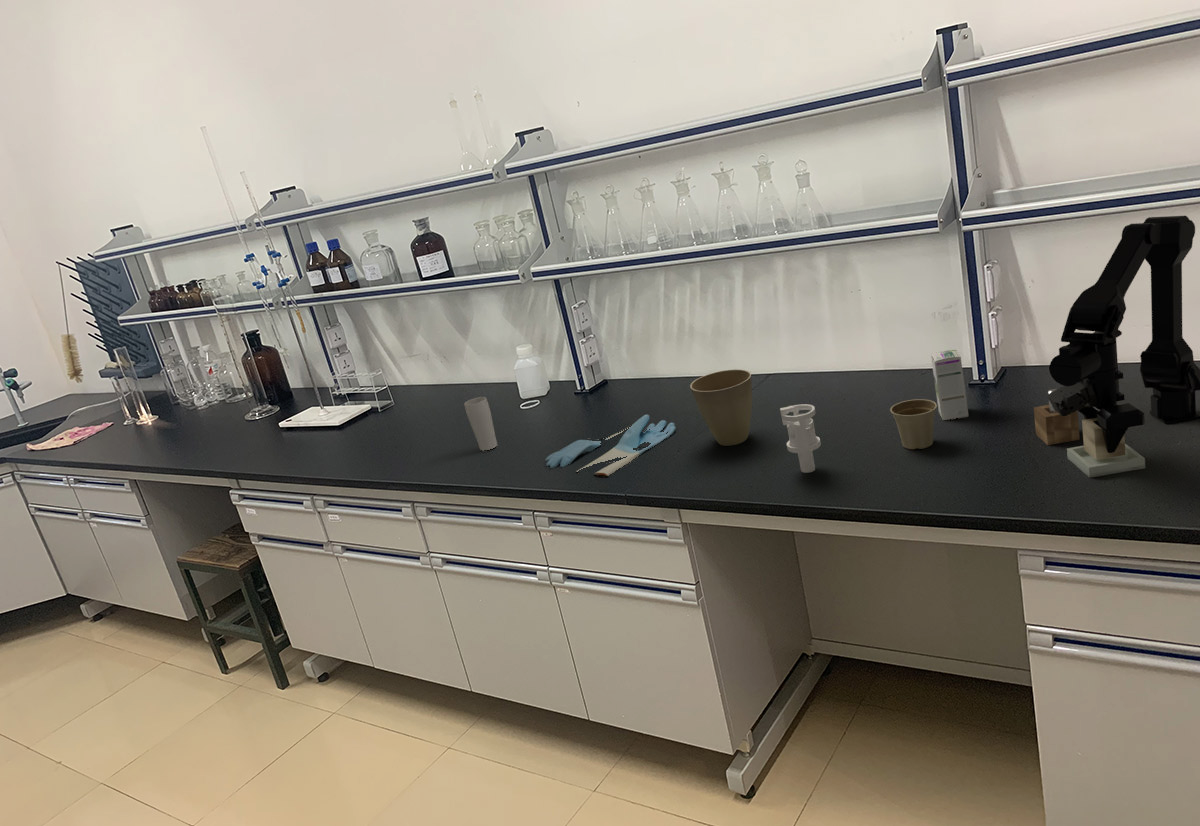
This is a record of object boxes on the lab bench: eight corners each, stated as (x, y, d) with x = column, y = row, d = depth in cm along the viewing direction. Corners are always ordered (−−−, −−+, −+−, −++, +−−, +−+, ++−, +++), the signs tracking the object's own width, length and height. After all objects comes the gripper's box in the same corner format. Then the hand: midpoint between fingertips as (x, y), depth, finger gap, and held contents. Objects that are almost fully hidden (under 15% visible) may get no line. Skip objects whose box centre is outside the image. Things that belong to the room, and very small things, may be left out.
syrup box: (969, 417, 194) (962, 355, 189) (941, 421, 195) (934, 360, 191) (964, 408, 199) (957, 348, 194) (937, 412, 200) (929, 353, 196)
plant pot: (705, 433, 223) (693, 375, 218) (763, 424, 219) (752, 365, 214) (700, 456, 209) (687, 394, 204) (761, 447, 205) (749, 384, 201)
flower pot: (948, 437, 186) (944, 399, 184) (930, 454, 180) (925, 416, 177) (906, 434, 193) (901, 398, 190) (887, 451, 187) (882, 414, 184)
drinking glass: (504, 443, 255) (491, 395, 250) (492, 452, 249) (478, 404, 244) (485, 444, 258) (471, 397, 253) (473, 453, 252) (459, 406, 248)
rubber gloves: (533, 469, 229) (527, 447, 228) (613, 422, 251) (608, 402, 249) (608, 480, 210) (602, 455, 208) (687, 428, 232) (682, 406, 230)
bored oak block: (1066, 429, 176) (1064, 401, 175) (1079, 439, 171) (1077, 411, 169) (1036, 434, 177) (1033, 407, 176) (1047, 445, 172) (1045, 417, 170)
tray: (1120, 449, 163) (1119, 439, 163) (1145, 468, 154) (1144, 458, 154) (1067, 458, 165) (1066, 448, 164) (1089, 477, 156) (1088, 467, 155)
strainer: (789, 467, 191) (777, 403, 187) (820, 460, 190) (810, 396, 186) (794, 479, 184) (783, 414, 180) (828, 472, 184) (816, 406, 179)
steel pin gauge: (1060, 434, 175) (1056, 388, 172) (1064, 437, 173) (1061, 391, 170) (1050, 436, 175) (1046, 390, 172) (1054, 439, 173) (1050, 393, 170)
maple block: (1112, 444, 161) (1110, 414, 159) (1125, 454, 156) (1123, 423, 154) (1084, 449, 162) (1081, 419, 160) (1096, 460, 157) (1094, 429, 155)
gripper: (1031, 362, 164) (1038, 437, 169) (1074, 391, 146) (1080, 475, 151) (1093, 349, 162) (1098, 426, 167) (1144, 378, 145) (1148, 463, 149)
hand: (1104, 447), depth 159 cm, fingers closed on maple block, 5 cm apart
